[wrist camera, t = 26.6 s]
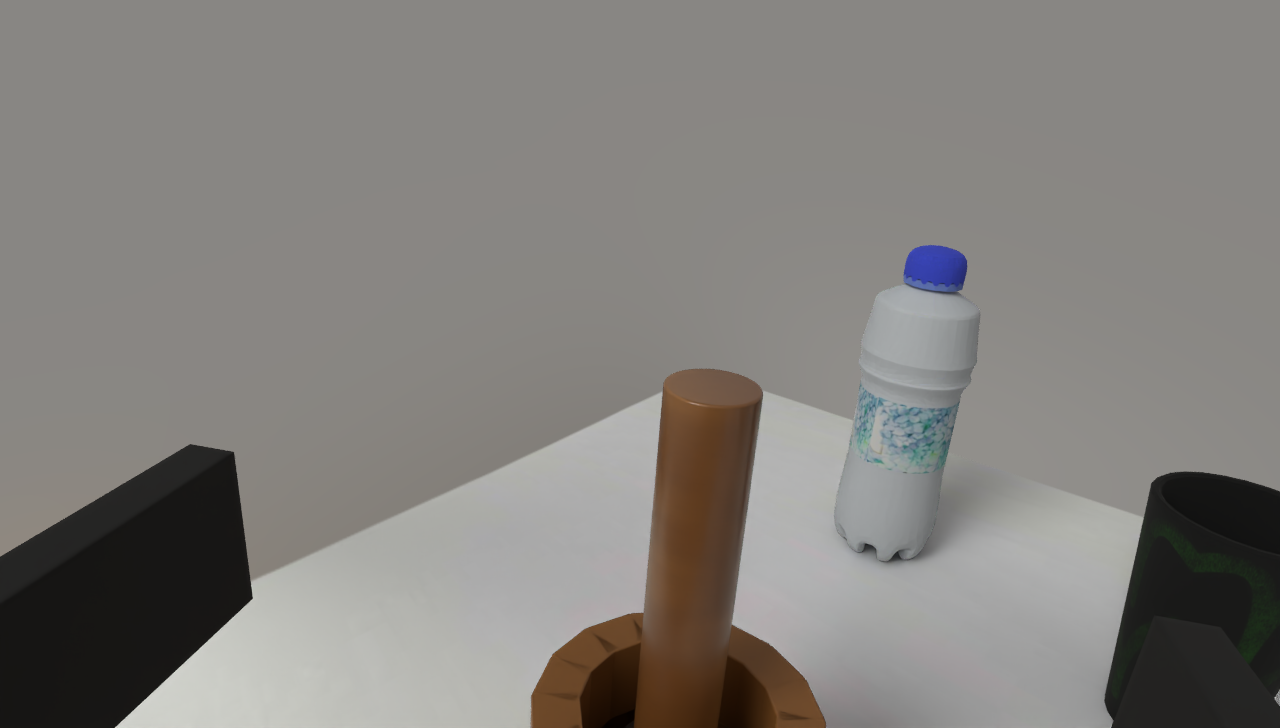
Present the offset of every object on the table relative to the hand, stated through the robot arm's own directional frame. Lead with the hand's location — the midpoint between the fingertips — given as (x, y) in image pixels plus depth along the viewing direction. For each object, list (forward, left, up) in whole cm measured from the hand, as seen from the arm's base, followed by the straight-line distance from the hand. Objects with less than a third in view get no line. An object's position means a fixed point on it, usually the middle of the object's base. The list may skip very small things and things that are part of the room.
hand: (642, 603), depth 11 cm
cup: (+30, +16, -21) cm, 40 cm away
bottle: (+22, +32, -21) cm, 45 cm away
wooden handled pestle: (+3, +9, -20) cm, 23 cm away
